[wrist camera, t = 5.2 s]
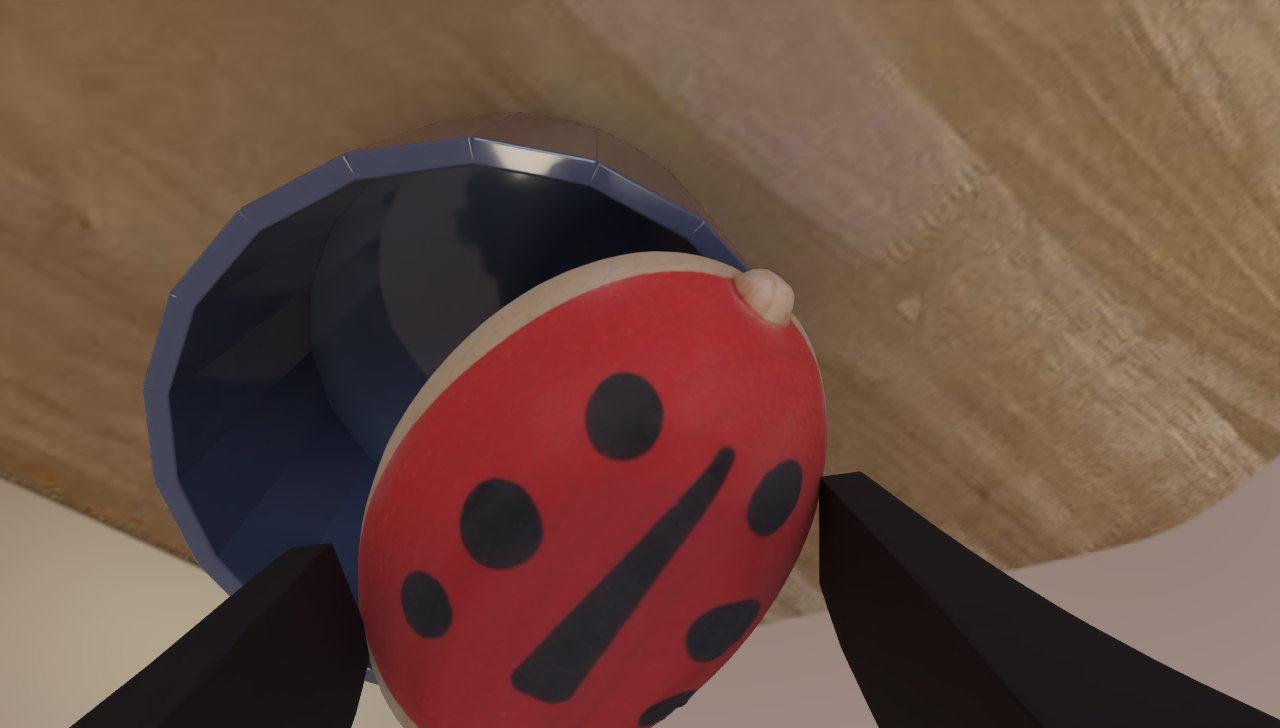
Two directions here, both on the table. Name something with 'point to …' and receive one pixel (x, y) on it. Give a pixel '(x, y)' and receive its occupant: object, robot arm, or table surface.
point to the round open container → (372, 315)
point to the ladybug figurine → (593, 498)
